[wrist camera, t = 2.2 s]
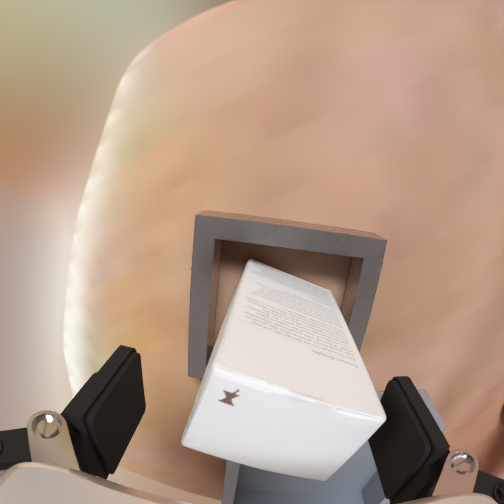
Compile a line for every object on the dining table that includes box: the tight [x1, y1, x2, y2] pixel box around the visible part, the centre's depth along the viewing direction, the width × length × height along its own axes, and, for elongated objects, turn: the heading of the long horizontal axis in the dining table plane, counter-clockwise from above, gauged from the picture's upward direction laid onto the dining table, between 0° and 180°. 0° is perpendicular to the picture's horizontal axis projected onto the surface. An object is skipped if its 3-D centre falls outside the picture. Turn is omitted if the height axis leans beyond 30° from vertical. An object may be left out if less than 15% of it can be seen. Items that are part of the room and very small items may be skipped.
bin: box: [222, 390, 446, 504], centre depth 20 cm, size 16×16×5 cm
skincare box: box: [181, 258, 386, 481], centre depth 14 cm, size 6×4×12 cm
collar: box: [188, 211, 387, 379], centre depth 18 cm, size 11×11×2 cm
